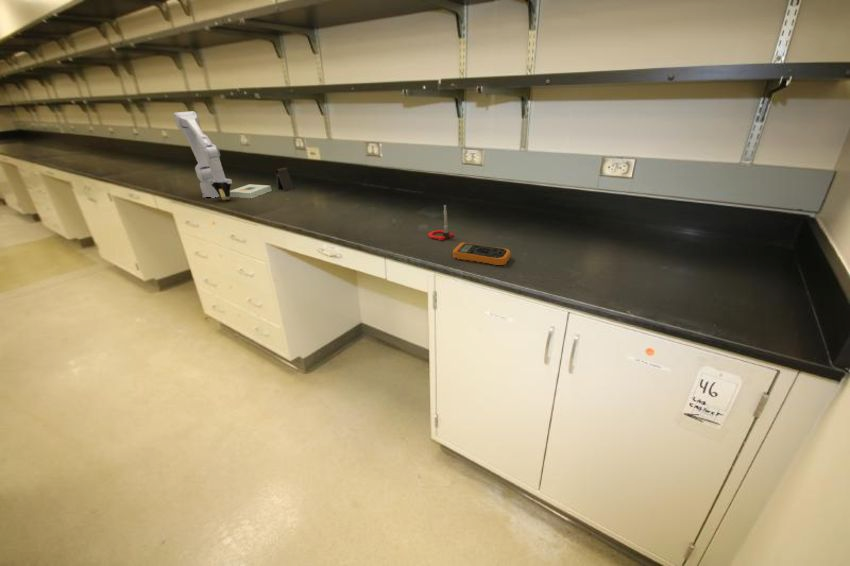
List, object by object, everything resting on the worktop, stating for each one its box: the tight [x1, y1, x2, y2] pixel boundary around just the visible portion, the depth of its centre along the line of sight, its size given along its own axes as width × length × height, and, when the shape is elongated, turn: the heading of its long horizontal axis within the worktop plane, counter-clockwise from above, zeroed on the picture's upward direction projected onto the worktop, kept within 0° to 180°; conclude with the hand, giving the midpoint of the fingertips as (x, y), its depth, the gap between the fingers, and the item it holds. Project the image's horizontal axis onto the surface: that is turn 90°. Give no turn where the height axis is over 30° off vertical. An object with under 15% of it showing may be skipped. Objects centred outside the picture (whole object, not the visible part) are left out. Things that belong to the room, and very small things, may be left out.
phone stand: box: [275, 166, 295, 192], centre depth 213 cm, size 9×6×12 cm, turn 50°
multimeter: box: [452, 242, 511, 266], centre depth 122 cm, size 9×18×3 cm, turn 64°
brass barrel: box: [219, 188, 231, 201], centre depth 198 cm, size 4×4×6 cm
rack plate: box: [229, 183, 273, 200], centre depth 209 cm, size 16×16×3 cm
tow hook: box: [427, 204, 455, 242], centre depth 139 cm, size 8×13×9 cm
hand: (225, 196), depth 199 cm, fingers closed on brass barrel, 4 cm apart
